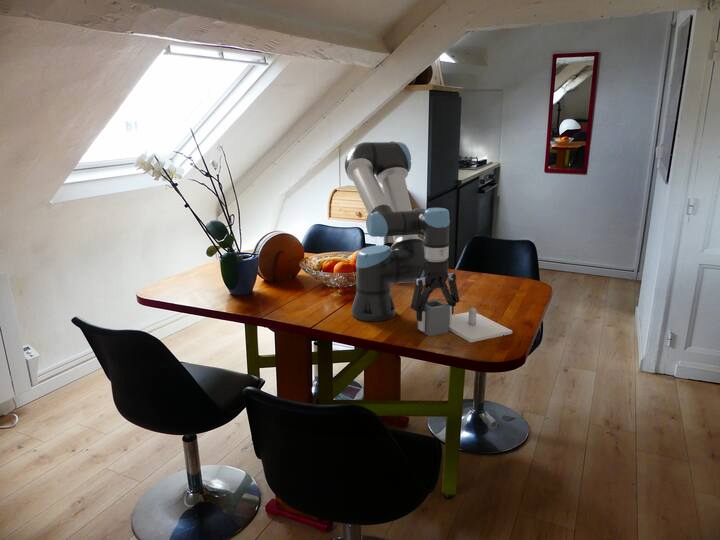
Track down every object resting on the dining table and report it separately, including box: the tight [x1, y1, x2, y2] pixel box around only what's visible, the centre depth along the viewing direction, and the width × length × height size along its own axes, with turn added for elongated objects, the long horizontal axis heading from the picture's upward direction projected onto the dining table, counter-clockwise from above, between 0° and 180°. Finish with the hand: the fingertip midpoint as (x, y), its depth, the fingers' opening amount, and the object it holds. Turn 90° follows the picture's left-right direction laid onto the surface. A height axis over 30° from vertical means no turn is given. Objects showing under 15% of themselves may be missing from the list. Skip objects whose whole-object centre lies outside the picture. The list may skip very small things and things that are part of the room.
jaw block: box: [418, 299, 449, 337], centre depth 173 cm, size 7×7×9 cm
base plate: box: [448, 307, 513, 344], centre depth 177 cm, size 16×20×7 cm
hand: (435, 327), depth 175 cm, fingers open, 9 cm apart
